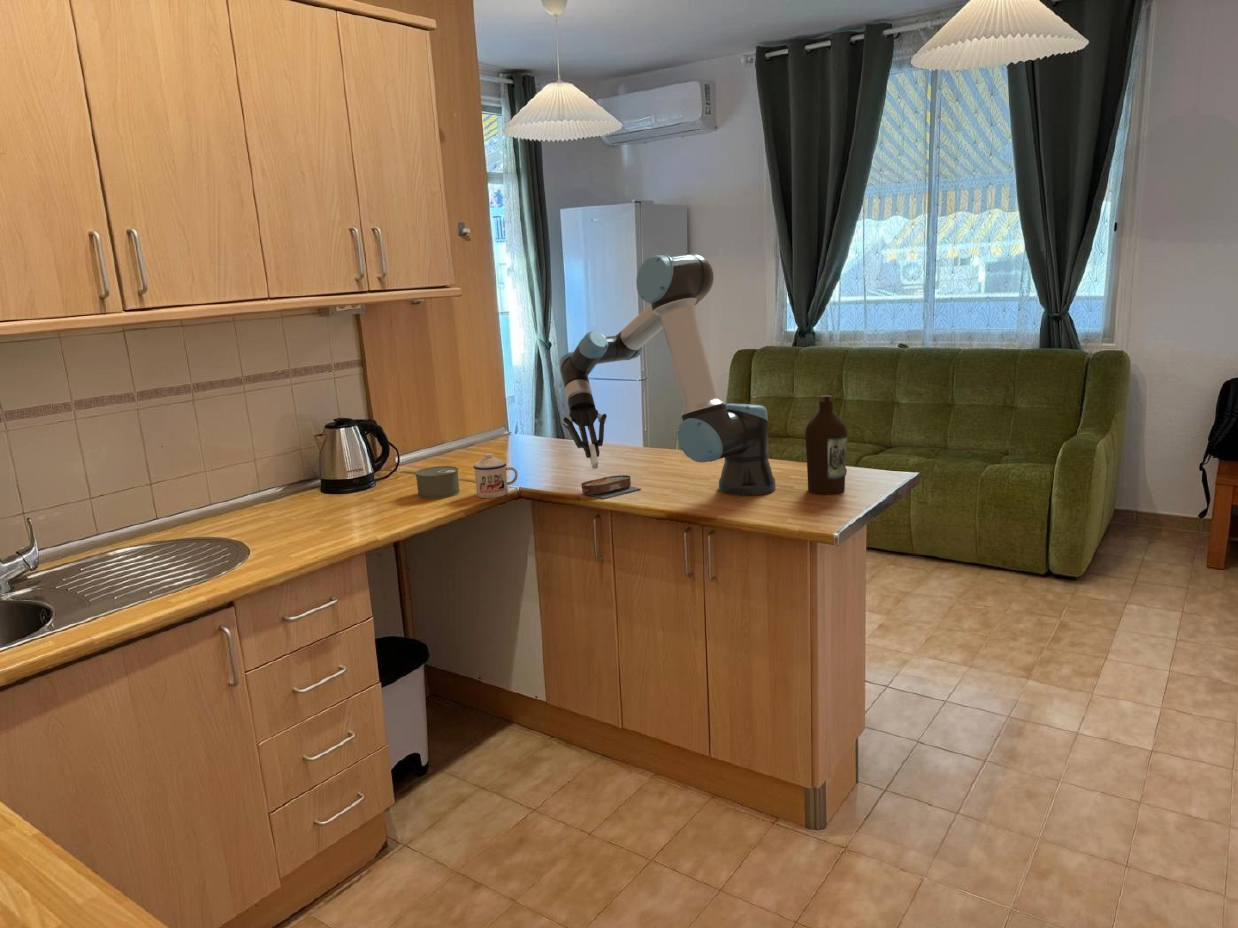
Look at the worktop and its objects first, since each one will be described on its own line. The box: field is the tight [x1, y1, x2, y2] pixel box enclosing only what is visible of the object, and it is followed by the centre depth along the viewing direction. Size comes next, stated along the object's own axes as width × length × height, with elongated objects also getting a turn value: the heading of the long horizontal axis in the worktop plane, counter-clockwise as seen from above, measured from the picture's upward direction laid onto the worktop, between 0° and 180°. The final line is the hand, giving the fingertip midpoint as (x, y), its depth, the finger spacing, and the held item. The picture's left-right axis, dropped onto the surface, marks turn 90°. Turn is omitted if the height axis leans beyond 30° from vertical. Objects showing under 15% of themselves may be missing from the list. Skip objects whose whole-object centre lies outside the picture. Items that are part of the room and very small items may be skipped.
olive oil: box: [804, 394, 848, 495], centre depth 226 cm, size 11×11×25 cm
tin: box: [580, 474, 632, 494], centre depth 240 cm, size 15×3×8 cm
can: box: [415, 465, 461, 500], centre depth 248 cm, size 12×12×7 cm
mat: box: [583, 485, 642, 500], centre depth 240 cm, size 9×13×1 cm
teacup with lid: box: [473, 453, 519, 499], centre depth 243 cm, size 12×9×12 cm
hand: (595, 465), depth 242 cm, fingers closed
